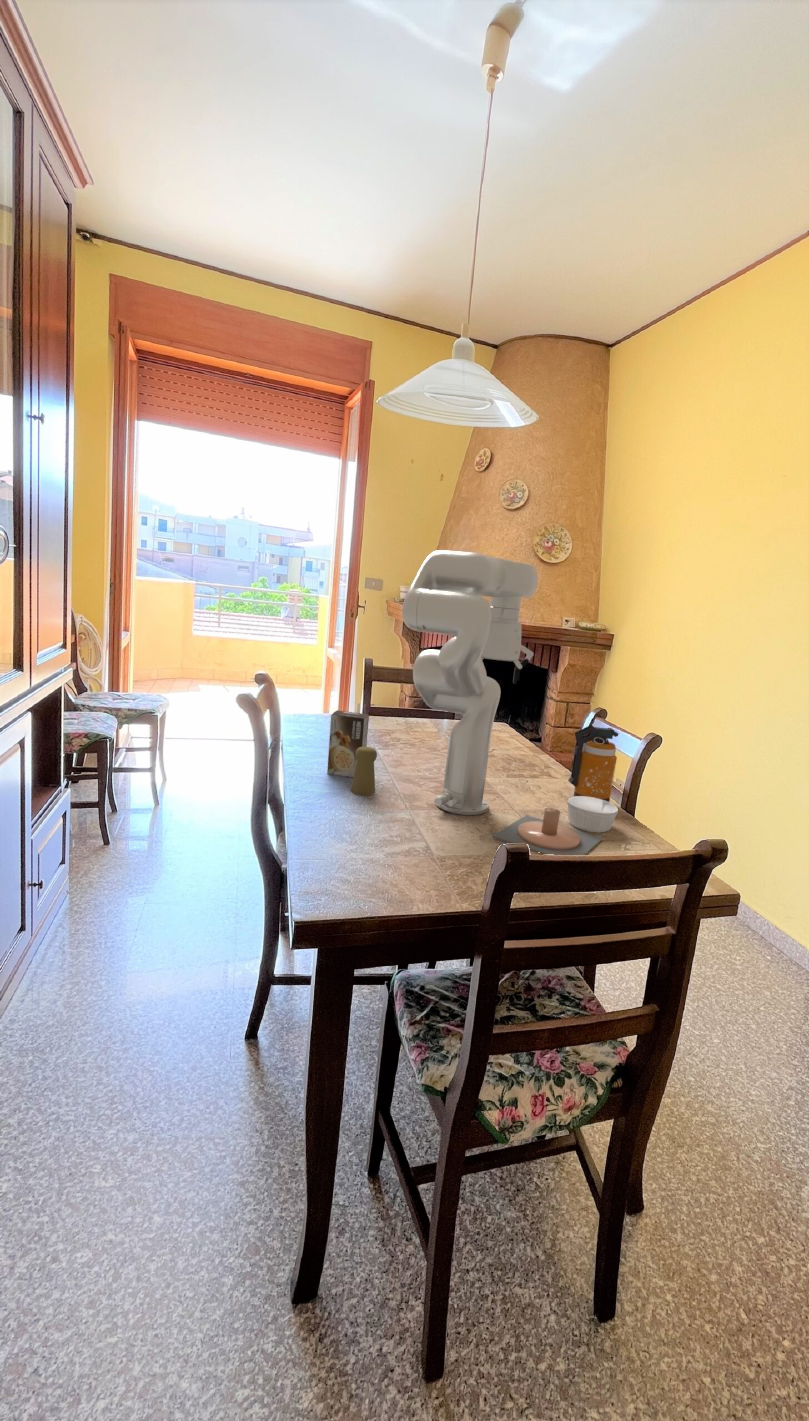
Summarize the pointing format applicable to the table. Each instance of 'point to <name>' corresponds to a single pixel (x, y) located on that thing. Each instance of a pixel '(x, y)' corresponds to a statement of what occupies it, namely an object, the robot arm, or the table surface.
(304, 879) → the table surface
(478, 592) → the robot arm
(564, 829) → the lid
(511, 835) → the mat
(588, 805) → the ramekin
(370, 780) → the cork
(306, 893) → the table surface
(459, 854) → the table surface
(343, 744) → the coffee box
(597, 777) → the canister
